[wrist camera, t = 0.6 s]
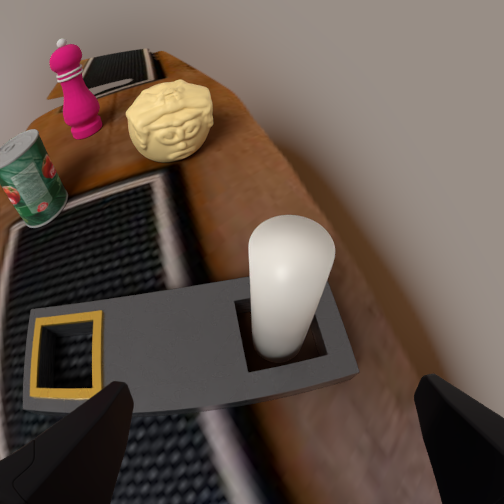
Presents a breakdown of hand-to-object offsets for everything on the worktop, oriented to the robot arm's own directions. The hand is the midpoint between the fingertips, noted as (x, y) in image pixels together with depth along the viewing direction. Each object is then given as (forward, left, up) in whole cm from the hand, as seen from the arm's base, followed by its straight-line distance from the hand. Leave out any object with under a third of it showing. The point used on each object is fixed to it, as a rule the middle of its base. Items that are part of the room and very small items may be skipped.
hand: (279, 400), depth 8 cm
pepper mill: (+48, +28, -15) cm, 58 cm away
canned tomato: (+27, +28, -15) cm, 42 cm away
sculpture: (+36, +9, -16) cm, 41 cm away
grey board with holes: (+6, +7, -15) cm, 18 cm away
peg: (+7, -2, -15) cm, 17 cm away
